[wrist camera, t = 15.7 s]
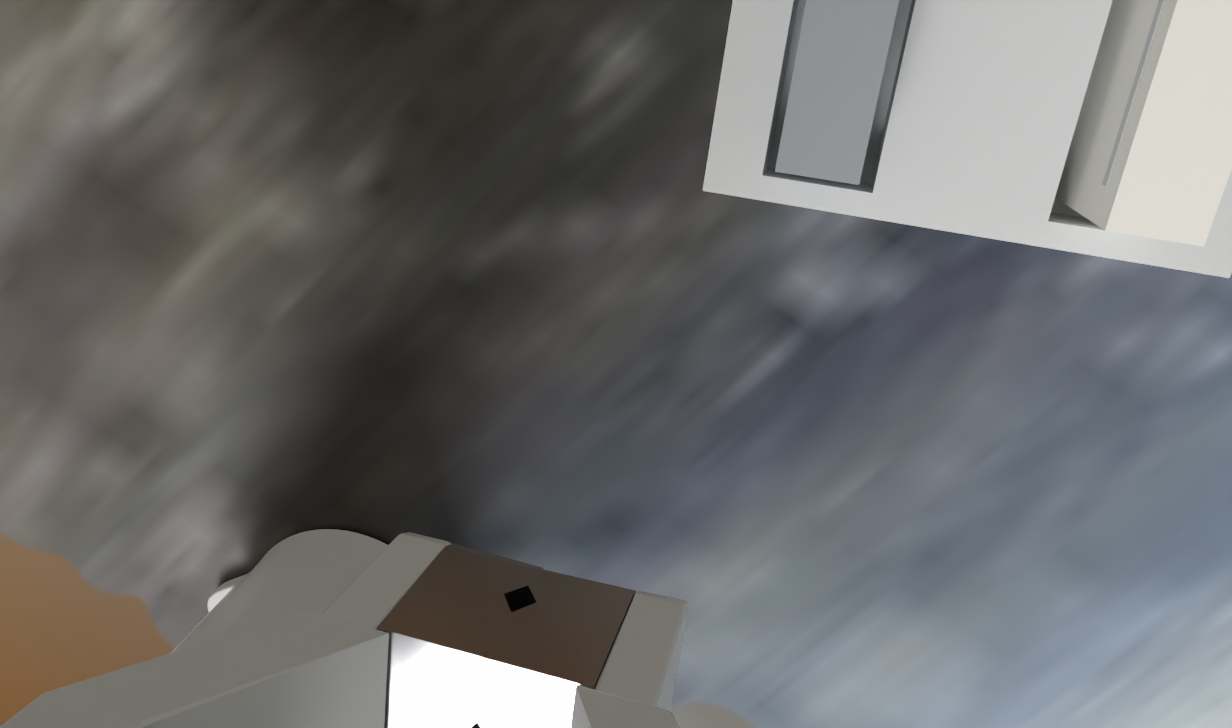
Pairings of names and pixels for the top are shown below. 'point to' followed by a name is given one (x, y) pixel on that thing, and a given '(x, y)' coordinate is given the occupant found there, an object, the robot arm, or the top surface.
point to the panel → (1155, 122)
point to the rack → (924, 119)
